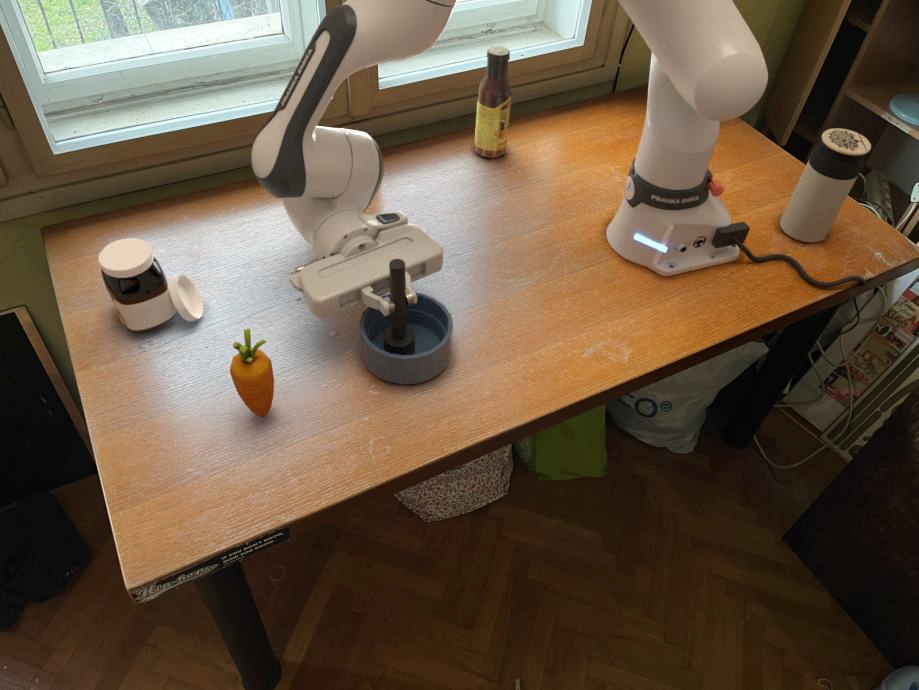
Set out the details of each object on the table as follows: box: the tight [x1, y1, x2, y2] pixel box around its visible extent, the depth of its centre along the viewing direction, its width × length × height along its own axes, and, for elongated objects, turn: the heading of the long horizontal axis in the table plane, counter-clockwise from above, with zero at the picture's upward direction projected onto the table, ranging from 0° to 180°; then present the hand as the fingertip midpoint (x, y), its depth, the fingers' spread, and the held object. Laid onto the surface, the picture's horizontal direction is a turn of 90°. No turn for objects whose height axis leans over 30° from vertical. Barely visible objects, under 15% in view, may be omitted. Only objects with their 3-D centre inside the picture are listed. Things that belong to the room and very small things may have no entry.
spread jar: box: [98, 237, 204, 333], centre depth 102 cm, size 12×11×12 cm
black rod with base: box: [383, 259, 415, 355], centre depth 96 cm, size 4×4×16 cm
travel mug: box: [779, 127, 872, 243], centre depth 121 cm, size 8×8×18 cm
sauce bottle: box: [474, 45, 513, 159], centre depth 133 cm, size 7×6×20 cm
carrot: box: [229, 328, 275, 418], centre depth 89 cm, size 5×5×15 cm
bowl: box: [358, 292, 454, 385], centre depth 102 cm, size 13×13×6 cm
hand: (401, 306), depth 95 cm, fingers closed on black rod with base, 2 cm apart
